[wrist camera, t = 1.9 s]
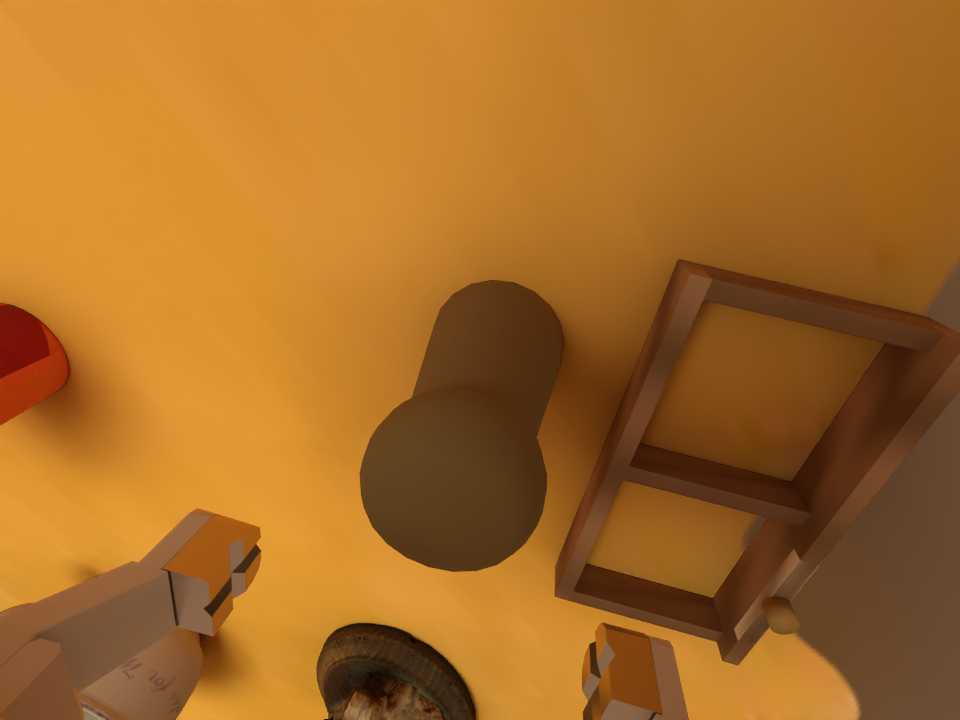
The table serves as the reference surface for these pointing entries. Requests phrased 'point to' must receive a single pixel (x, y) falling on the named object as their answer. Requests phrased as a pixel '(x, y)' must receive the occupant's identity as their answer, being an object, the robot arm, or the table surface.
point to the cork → (468, 434)
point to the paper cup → (27, 362)
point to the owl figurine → (388, 678)
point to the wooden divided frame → (788, 505)
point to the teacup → (146, 680)
